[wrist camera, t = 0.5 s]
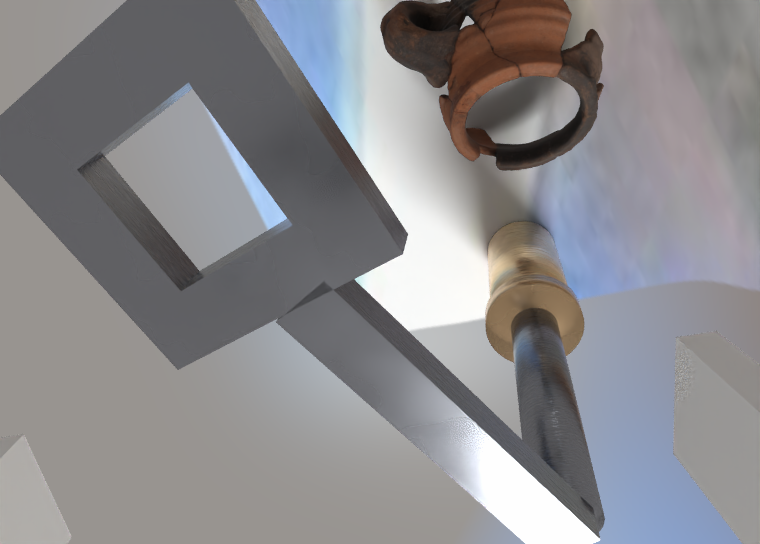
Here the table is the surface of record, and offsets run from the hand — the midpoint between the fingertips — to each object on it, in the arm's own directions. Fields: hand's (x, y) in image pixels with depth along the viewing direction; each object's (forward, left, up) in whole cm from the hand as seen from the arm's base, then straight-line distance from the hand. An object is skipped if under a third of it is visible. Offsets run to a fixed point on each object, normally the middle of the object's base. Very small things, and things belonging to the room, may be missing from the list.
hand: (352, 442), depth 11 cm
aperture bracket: (+1, +1, -26) cm, 26 cm away
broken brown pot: (-5, -2, -27) cm, 27 cm away
